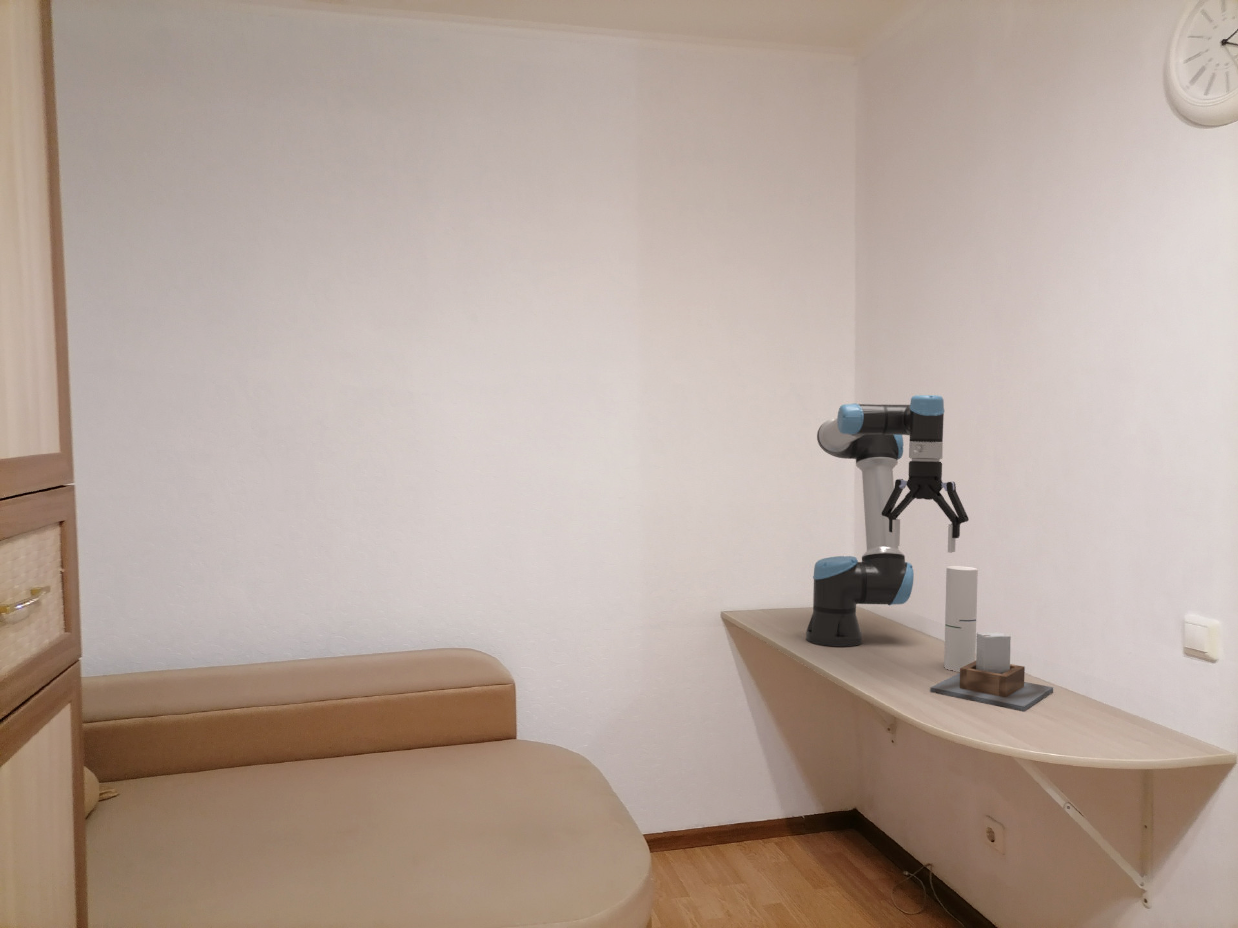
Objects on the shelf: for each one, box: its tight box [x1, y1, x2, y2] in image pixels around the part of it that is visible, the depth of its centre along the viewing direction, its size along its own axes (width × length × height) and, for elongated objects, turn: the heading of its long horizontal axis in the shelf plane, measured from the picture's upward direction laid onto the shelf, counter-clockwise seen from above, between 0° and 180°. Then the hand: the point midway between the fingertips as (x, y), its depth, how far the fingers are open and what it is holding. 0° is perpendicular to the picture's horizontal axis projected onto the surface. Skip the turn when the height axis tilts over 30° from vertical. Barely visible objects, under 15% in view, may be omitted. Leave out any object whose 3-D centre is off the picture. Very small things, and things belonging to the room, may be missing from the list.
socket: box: [929, 660, 1054, 712], centre depth 198 cm, size 20×20×6 cm
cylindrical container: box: [943, 565, 979, 673], centre depth 217 cm, size 7×7×25 cm
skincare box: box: [975, 631, 1011, 674], centre depth 198 cm, size 6×4×12 cm
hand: (922, 549), depth 210 cm, fingers open, 13 cm apart
